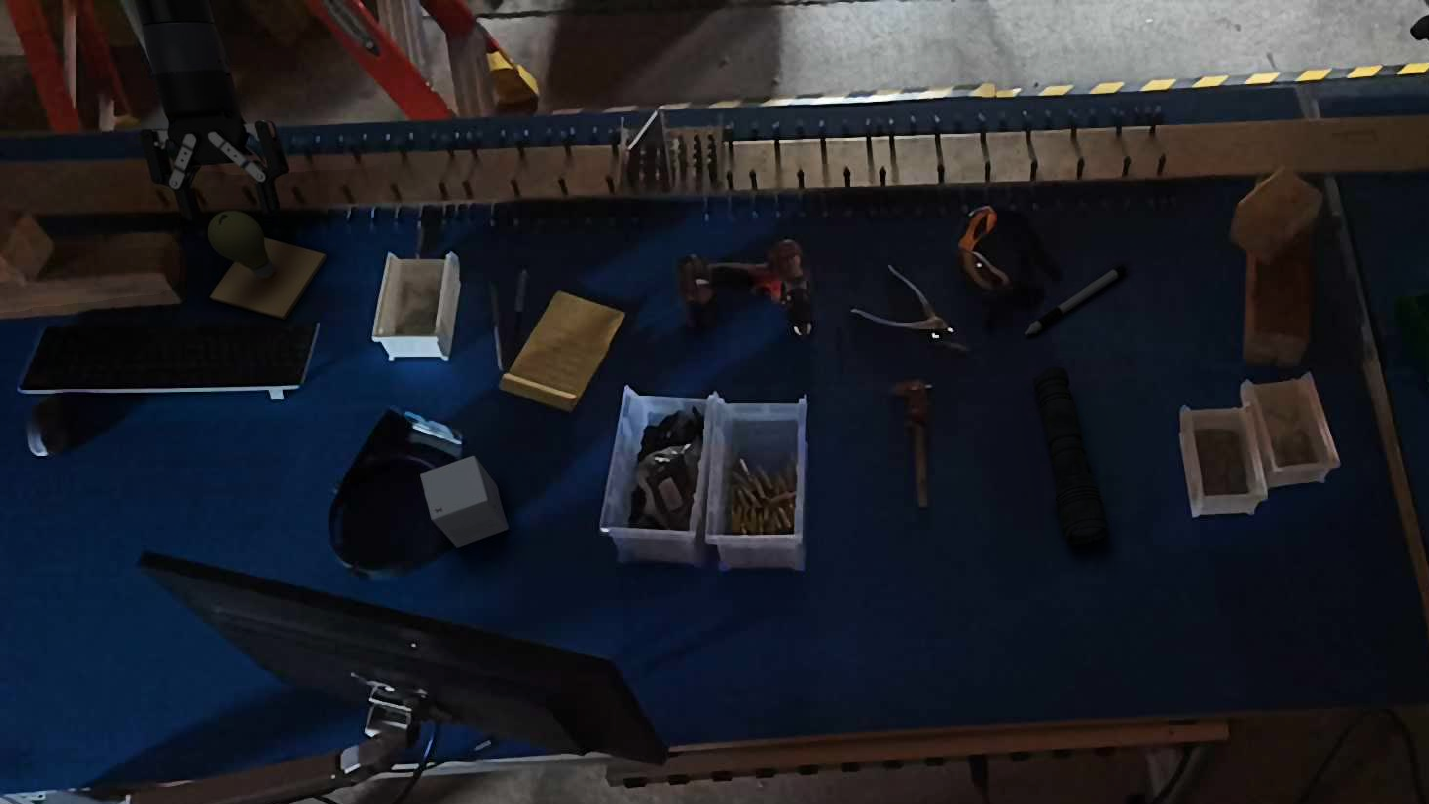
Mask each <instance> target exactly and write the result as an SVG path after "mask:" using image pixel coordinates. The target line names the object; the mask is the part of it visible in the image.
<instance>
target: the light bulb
mask: <svg viewBox="0 0 1429 804" xmlns="http://www.w3.org/2000/svg"><path fill="white" fill-rule="evenodd" d="M207 237H208V241H209V244H210V245H211V247H212V248H213V250H215V252H217V253H218V255H220V256H221V257H223V258H225V259H228V260H230V261H233V262H235V261H236V262H239V263H241V264H242V265H243V266H245V267H247V268H249V269H250V270H251V271H252V272H253V273H254V274H255V275H256V276H257V277H258V278H268V277H270V276H271V275H272V274H273V273H274V271H275V266H274V265H273V263H272V262H271V261H270V260H269V258H268V254H267V251H266V249H265V241H264V237H265V235H264V231H263V229H262V227H261V226H260V224H259V222H258V221H257V220H255V219H254V218H253V217H252V216H251V215H249V214H246V213H245V212H242V211H237V210H226V211H223V212H220V213H218V214H217V215H215V216H214V217H213V218H212V219H211V220H210V221H209V223H208V227H207Z"/></svg>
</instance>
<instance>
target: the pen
mask: <svg viewBox="0 0 1429 804" xmlns="http://www.w3.org/2000/svg"><path fill="white" fill-rule="evenodd" d="M1126 271H1127V267H1126V266H1125V265H1124V264H1121V265H1119V266H1117V267H1115V268H1113V269H1111V270H1110V271H1108V272H1107V273H1105V274H1104V275H1103V276H1101V277H1099V278H1098V279H1096V280H1095V281H1093V282H1091V284H1088V286H1086V287H1084V288H1083V289H1081V290H1080V291H1079V292H1077V293H1076V294H1074V295H1073V296H1071V297H1070V298H1068V299H1067V300H1066V301H1064V302H1062V303H1061V304H1059V305H1058V306H1056V307H1055V308H1052V310H1050V311H1049V312H1047V313H1046V314H1044V315H1043V316H1041V317H1039V318H1038V319H1037V320H1035V321H1034V322H1033V323H1030V324H1029V327H1028V328H1027V329H1026V331H1025V332H1024V334H1023V336H1027V335H1032V334H1037V333H1038V332H1039V331H1041V330H1043V328H1046V327H1047V326H1048V325H1050V324H1051V323H1052V322H1054V321H1056V320H1057V319H1058V318H1060V317H1062V315H1065V314H1066V313H1067V312H1069V311H1070V310H1072V309H1073V308H1075V307H1076V306H1077V305H1079V304H1080V303H1082V302H1084V301H1085V300H1087V299H1089V298H1090V297H1091V296H1093V295H1094V294H1096V293H1097V292H1099V291H1100V290H1102V289H1103V288H1105V287H1107V286H1108V285H1109V284H1111V283H1112V282H1114V281H1116V280H1117V279H1119V278H1120V277H1121V276H1122V275H1123V274H1124V273H1125V272H1126Z"/></svg>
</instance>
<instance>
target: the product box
mask: <svg viewBox="0 0 1429 804" xmlns="http://www.w3.org/2000/svg"><path fill="white" fill-rule="evenodd" d="M419 476H420V480H421V484H422V489H423V491H424V497H425V500H426V504H427V507H428V510H429V514H430V519H431V521H432V522H433V523H434V525H436V526H437V528H438V529H439V530H440V531H441V532H442V533H443V534H444V535H445V536H446V537H447V539H448V540H449V541H450V543H452V544H453V545H454V547H455V548H461V547H464V546H467V545H470V544H472V543H475V542H477V541H480V540H483V539H487V538H489V537H492V536H494V535H497V534H500V533H502V532H505V531H509V530H510V526H509V523H508V521H507V518H506V515H505V511H504V507H503V503H502V500H501V495H500V492H499V487H498V485H497V483H496V482H495V481H494V480H493V478H492V477H491V475H490V474H489V472H487V470H486V469H485V468H484V467H483V465H482V464H481V462H480V461H479V460H478V458H477V457H476V456H475V455H471V456H468V457H465V458H462V459H460V460H457V461H453V462H451V463H449V464H446V465H443V466H440V467H437V468H434V469H431V470H428V471H426V472H422V473H420V474H419Z"/></svg>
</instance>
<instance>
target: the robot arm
mask: <svg viewBox="0 0 1429 804" xmlns="http://www.w3.org/2000/svg"><path fill="white" fill-rule="evenodd" d="M133 1H134V5H135V8H136V12H137V15H138V19H139V22H140V25H141V29H142V35H143V41H144V49H145V52H146V55H147V59H148V62H149V66H150V70H151V72H152V76H153V80H154V82H155V87H156V89H157V93H158V97H159V99H160V100H159V101H160V103H161V107H162V110H163V113H164V115H165V117H166V119H167V122H168V124H167V130H166V129H159V128H143V129H141V130H140V133H139V136H140V139H141V144H142V148H143V152H144V155H145V160H146V165H147V167H148V173H149V177H150V180H151V182H152V183H153V184H154V185H161V186H165V187H168V188H170V189H171V190H172V191H173V192H174V197H175V200H176V204H177V206H178V210H179V213H180V215H181V216H182V218H184V219H186V221H187V222H188V223H190V224H191V223H192V224H193V223H200V222H203V219H204V218H203V214H202V211H201V207H200V204H199V199H198V197H197V193H196V190H195V188H194V187H193V188H192V187H191V186H192V185H193V182H194V179H195V177H196V175H197V173H198V172H200V170H201V168H202V166H213V165H218V164H219V165H225V164H236V166H238V167H239V168H241V169H243V170H244V171H246V172H247V173H248V174H249V175H250V176H251V177H252V178H253V179H255V181H256V182H257V183H254V187H255V191H256V195H257V198H258V201H259V205H260V209H261V211H262V215H263V216H264V217H265V218H266V217H267V218H269V217H274V216H278V211H280V210H281V202H280V199H279V195H278V191H277V188H276V187H277V186H276V183H275V182H276V179H278V178H280V177H282V176H284V175H287V174H289V172H290V166H289V164H288V160H287V157H286V154H285V151H284V148H283V145H282V142H281V139H280V136H279V133H278V129H277V127H276V124H275V122H274V121H272V120H269V119H268V120H267V119H261V120H260V119H259V120H256V121H255V122H249V123H247V122H246V121H245V118H243V115H242V109H241V104H240V100H239V97H238V93H237V89H236V86H235V85H236V84H235V83H234V79H233V74H232V70H231V67H230V66H231V63H230V60H229V57H228V56H227V52H226V49H225V46H224V43H223V40H222V38H221V35H220V33H219V31H218V29H217V25H216V21H215V17H214V15H213V11H212V7H211V3H210V0H133ZM251 135H252V136H253V138H254V140H255V141H257V142H259V145H260V147H261V150H262V153H263V156H264V159H265V163H266V164H265V163H264V162H263V161H262V159H261V158H260V157H259V156H258V154H256V153H255V152H254V151H253V150H252V149H251V148H250V147H249V146H248V145H247V143H248V141H249V139H250V136H251ZM170 142H171V143H172V144H174V145H175V147H177V148H178V149H179V152H178V154H177V156H176V159H175V161H174V163H173V167H174V168H173V170H172V165H171V161H170V157H169V153H168V149H169V148H170Z"/></svg>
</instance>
